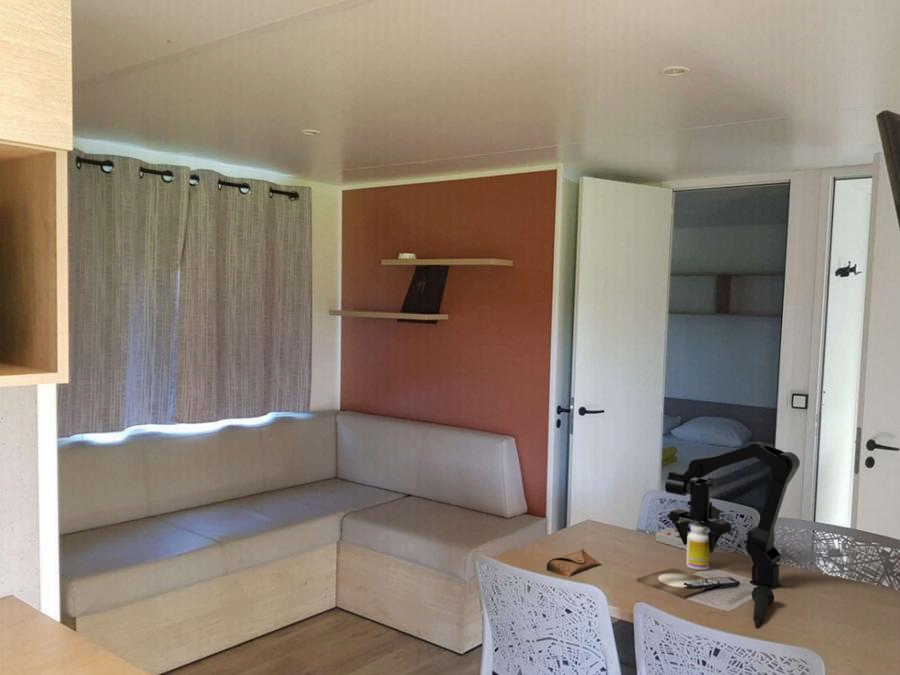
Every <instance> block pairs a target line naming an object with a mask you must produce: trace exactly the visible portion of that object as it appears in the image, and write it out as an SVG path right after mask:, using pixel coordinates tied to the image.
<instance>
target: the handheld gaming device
mask: <svg viewBox="0 0 900 675" xmlns="http://www.w3.org/2000/svg"><path fill="white" fill-rule="evenodd" d="M689 533H690V532H688V534H689ZM655 541H656V542H658V543H662V544H664V543H665V545H668V544H669V545H668V546H671V545H672V547H674V546H675V548H678V547H679V548H678V549H681V548H683V549H682V550H685V549H686V551H687V545H684V544H683V542H682V539H681V537H680V534H679V533H678V531H677V529H676V528H672V527H666V528H663V529H661V530H660V529H659V530H658V531H657V532H655Z"/></svg>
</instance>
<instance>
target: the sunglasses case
mask: <svg viewBox="0 0 900 675" xmlns="http://www.w3.org/2000/svg"><path fill="white" fill-rule="evenodd" d="M602 565H603V564H602V563H600V562H599V561H597V560H596V559H595V558H593V557H592V556H591V555H590V554H588V553H587V552H586V551H585V550H584V548H581V549H580V550H578V551H574V552H572V553H567V554H565V555H562V556H558V557H555V558H552V559H549V561H548V562H547V563H546V570H547V572H550V573H553V574H557V575H559V576H563V577H565V578H571V577H572V576H574V575H577V574H579V573H581V572H584V571H586V570H590V569H593V568H596V567H600V566H602Z"/></svg>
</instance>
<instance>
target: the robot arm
mask: <svg viewBox="0 0 900 675" xmlns="http://www.w3.org/2000/svg"><path fill="white" fill-rule="evenodd" d="M753 458H756V459H758V460H759V461H760V462H762V463H763V464H764V465H766V466H768V467H770V478H771V479H770V480H771V482H770V485H769V489H768V492H767V495H766V498H765V501H764V505H763V509H762V511H761V514H760V518H759V521H758V525H757V526H753V527H752V528H751V529H749V530H748V532H747V538H746V540H745V541H744V544H746V545H745V550H746V551H747V554H748V556H750V558H751V561H752V565H751V580H750V581H749V583H750V584H753V585H755V586H759V585H760V586H766V587H768V588H769V589H770V590H772V589H775V588H778V587H780V586H782V582H780V581H779V578H780V564H778V563H779V562H780V561H781V558H782V554H781V553H780V552H779V550H778V549H777V548H776V547H775V546H774V545H775V538H776V537H775V526H776V523H777V520H778V518H779V514H780V511H781V507H782V504H783V500H784V497H785V496H786V495H785V494H786V491H787V488H788V485H789V484H790V482H791V481H792V479H793V478H794V477H795V475H796V473H797V471H798V469H799V467H800V463H801V462H800V459H799V457H798V456H797V455H796V454H795V453H793V452H791V451H783V450H782V449H779V448H775V447H773V446H770V445H768V444H765V443H764V442H761V441H757V442H753V443H751V444H750V445H747V446H744V447H741V448H737V449H735V450H731V451H729V452H725V453H722V454H717V455H709V456H701V457H697V458H695V459H692V460H690V462H689V464H688V468H687V470H686V471H685V472H684V473H679V472H676V471H669V472H668V476H667V478H666V480H665V484H664V488H665V492H666V493H667V494H672V495H673V494H674V495H678V496H683V497H686V496H687V495H688V494H689V500H688V501H687V502H686V503H687V506H689V511H688V510H684V509H681V508H679V509H673V510H670V511H669V513H668V521H671V524H673V525H674V527H675V529H676V530H677V531H678V533H679V534H680V537H681V539H682V542H683V544H684V545H687V536H688V533H689V532H688V531H689V526H690V523H693V524H700V525H704V526H706V527H707V528H708V529H709V531H708V532H707V535H708V539H709V554H712V553H714V551H715V548H716V547H717V544H718V542H719V539H720V538H721V537H722V536H723V535H725V534H727V533H729V532H732V525H731V523H730V521H726V520H723V519H720V515H721V511H722V510H721V509H720V508H716V507H713V502H712V501H710V497H711V488H713V487H716V486H718V483H717V481H715V480H714V479H713V477H709V478H708V479H706V478H704V477H706V476H709V475H711V474H713V473H715V472H717V471H719V470H721V468H724V467H727V466H730V465H733V464H737V463H740V462H742V461H743V462H744V461H745V460H750V459H753ZM694 479H696V480H694ZM714 519H715V520H714Z"/></svg>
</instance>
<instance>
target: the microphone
mask: <svg viewBox="0 0 900 675" xmlns="http://www.w3.org/2000/svg"><path fill="white" fill-rule="evenodd" d="M774 594H775V593H774V592H773V590H772V589H769V588H768V587H766V586H760V585H759V586H758V585H756V586H755V587H753V589H752V591H751V595H750V596H751V598H752V601H753V602H754V605H753V606H754V607H753V618H752V619H753V622H754V628H755V629H758V628H759V626H760V624H763V621H764V619H765V616H766V611H767V610H768V607H770V606H772V605H773V603H774V601H775V600H774V599H775V595H774Z"/></svg>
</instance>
